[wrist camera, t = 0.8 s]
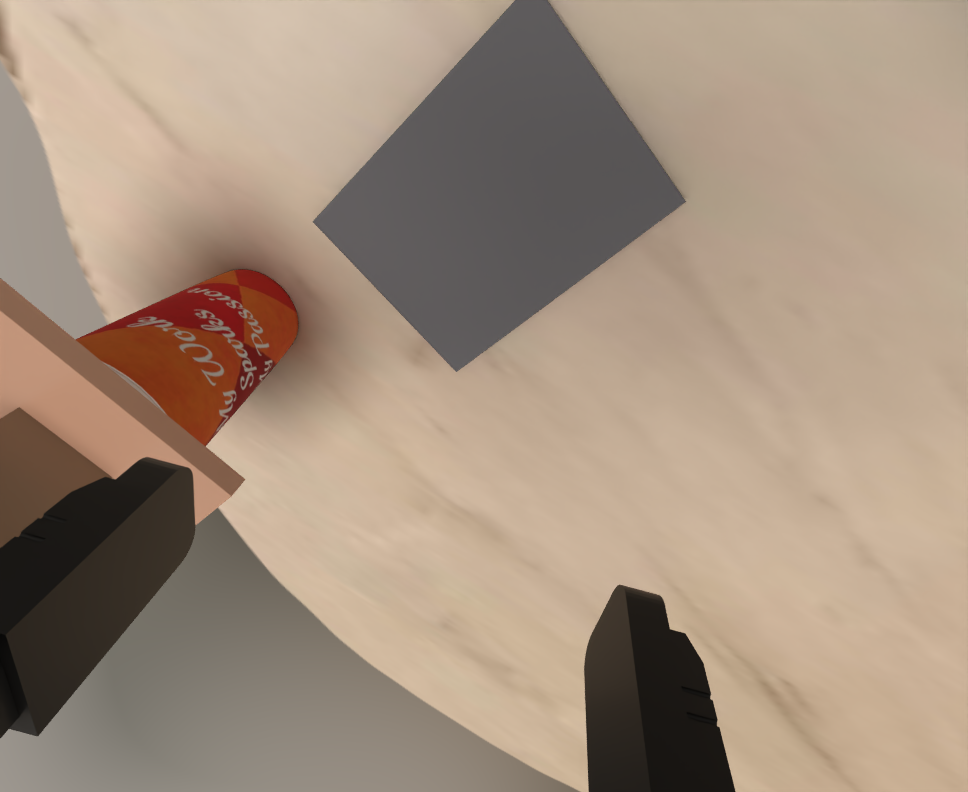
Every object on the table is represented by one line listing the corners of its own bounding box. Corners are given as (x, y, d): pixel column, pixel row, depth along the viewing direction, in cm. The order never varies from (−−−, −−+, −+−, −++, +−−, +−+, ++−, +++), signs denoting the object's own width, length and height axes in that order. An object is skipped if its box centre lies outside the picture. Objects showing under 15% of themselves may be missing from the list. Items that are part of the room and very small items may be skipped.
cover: (-13, 267, 18) (-239, 344, 13) (245, 479, 22) (141, 605, 17) (-98, 426, 23) (-289, 526, 18) (122, 579, 27) (13, 701, 22)
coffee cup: (338, 351, 36) (202, 509, 23) (240, 383, 38) (69, 540, 26) (270, 228, 32) (64, 335, 19) (166, 272, 35) (-75, 392, 22)
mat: (534, -18, 24) (533, -20, 24) (684, 199, 28) (685, 201, 27) (316, 219, 31) (312, 221, 31) (458, 367, 35) (456, 372, 34)
